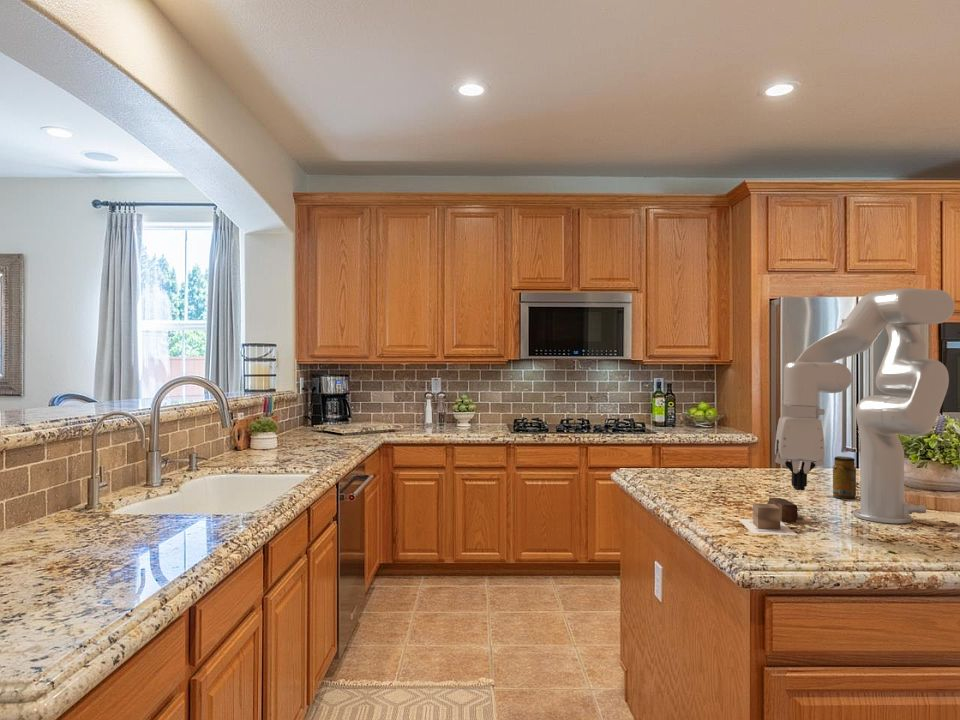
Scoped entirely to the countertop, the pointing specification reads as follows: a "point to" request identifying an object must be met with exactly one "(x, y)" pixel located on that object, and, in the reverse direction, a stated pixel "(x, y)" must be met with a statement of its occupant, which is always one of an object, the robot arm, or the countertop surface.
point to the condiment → (844, 479)
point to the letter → (753, 529)
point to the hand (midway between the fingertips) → (799, 489)
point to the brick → (785, 509)
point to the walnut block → (766, 516)
